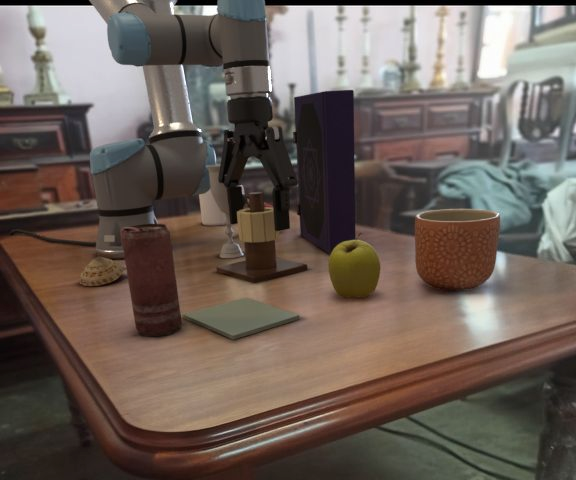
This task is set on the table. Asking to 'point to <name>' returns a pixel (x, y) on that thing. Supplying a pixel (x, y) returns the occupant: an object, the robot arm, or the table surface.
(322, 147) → the book
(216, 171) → the chalice
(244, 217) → the tape roll
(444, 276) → the planter
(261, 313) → the mat
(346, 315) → the table surface
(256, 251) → the stand
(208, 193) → the mug
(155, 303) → the can
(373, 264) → the apple
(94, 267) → the seashell
